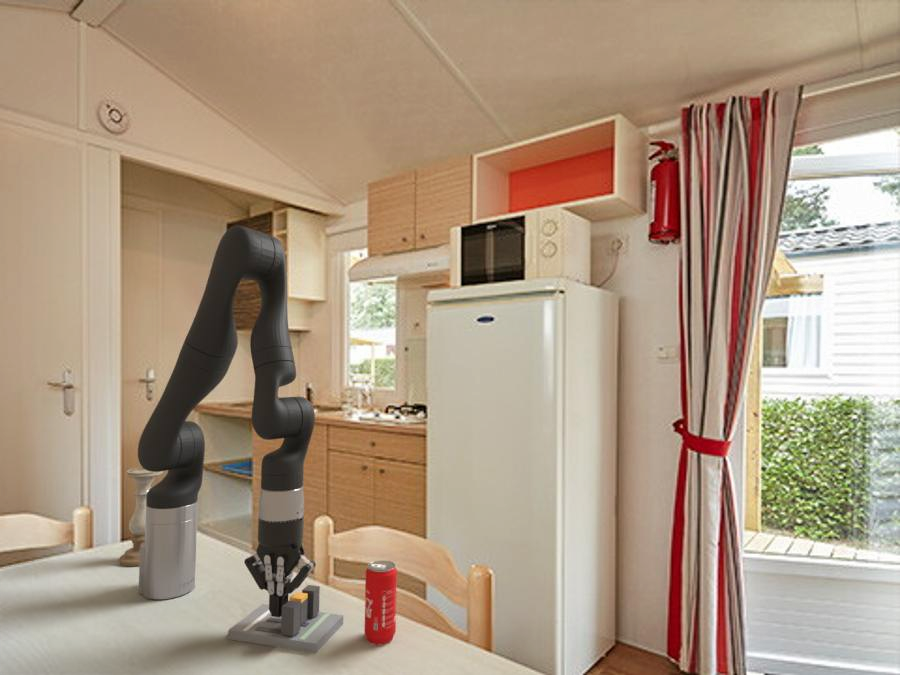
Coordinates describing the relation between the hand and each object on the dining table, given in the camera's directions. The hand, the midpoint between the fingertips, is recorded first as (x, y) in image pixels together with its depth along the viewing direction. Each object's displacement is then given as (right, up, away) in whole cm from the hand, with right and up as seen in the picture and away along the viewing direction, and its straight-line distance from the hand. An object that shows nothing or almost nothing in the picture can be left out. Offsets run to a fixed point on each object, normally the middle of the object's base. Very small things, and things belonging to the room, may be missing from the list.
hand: (278, 614), depth 94 cm
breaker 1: (+4, -1, -1) cm, 4 cm away
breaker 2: (+3, -1, -4) cm, 5 cm away
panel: (+2, -3, 0) cm, 3 cm away
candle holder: (-41, -3, +31) cm, 51 cm away
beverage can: (+18, -3, -2) cm, 18 cm away
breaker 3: (+5, -1, +2) cm, 5 cm away
